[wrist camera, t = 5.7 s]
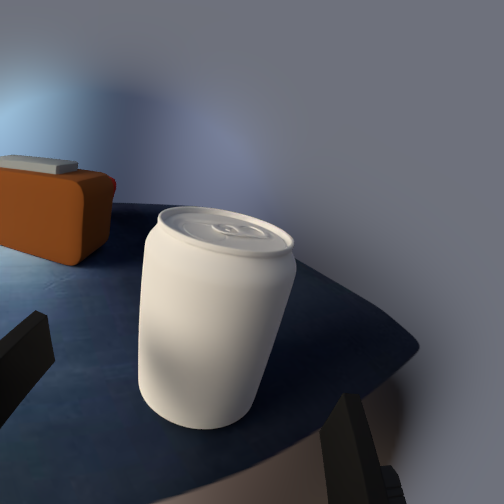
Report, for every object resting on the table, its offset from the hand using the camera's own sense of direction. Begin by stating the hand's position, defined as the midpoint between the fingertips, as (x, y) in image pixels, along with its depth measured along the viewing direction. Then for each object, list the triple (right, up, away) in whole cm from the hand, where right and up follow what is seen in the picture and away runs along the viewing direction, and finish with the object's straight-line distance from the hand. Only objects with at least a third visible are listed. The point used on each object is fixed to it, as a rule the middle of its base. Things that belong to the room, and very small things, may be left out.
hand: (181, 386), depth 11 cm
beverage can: (-1, -4, +8) cm, 9 cm away
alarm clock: (-28, +7, +22) cm, 37 cm away
